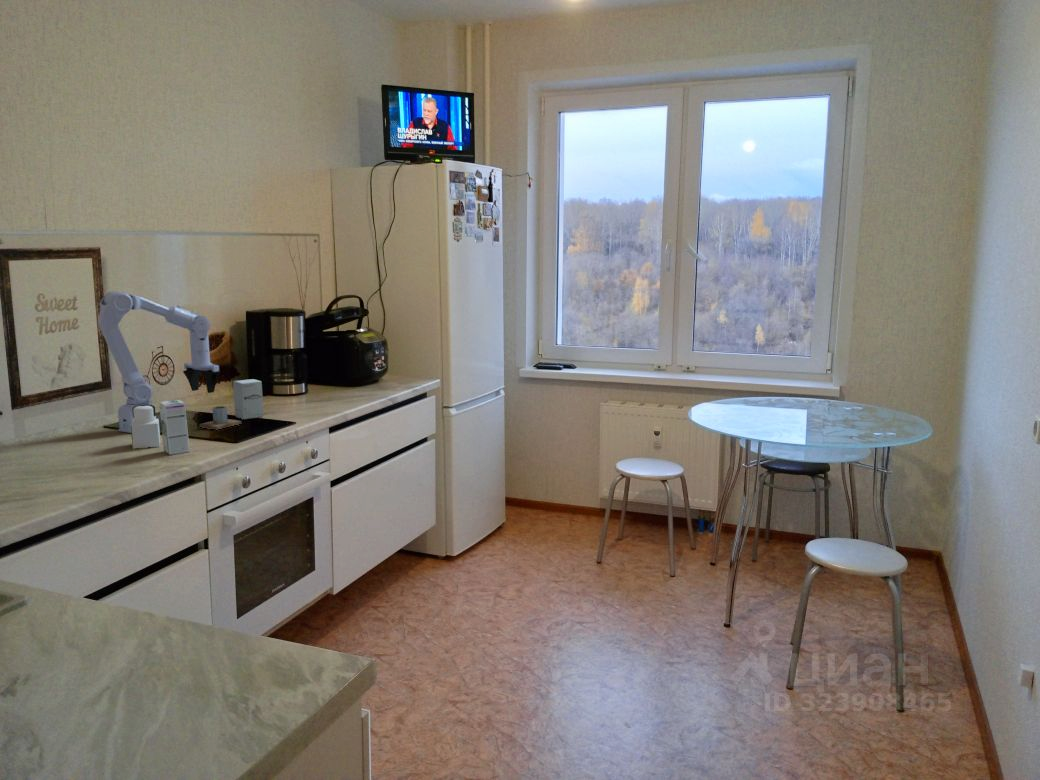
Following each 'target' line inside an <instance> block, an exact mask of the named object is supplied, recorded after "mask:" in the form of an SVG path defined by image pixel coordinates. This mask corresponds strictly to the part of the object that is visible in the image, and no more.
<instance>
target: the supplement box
mask: <svg viewBox="0 0 1040 780" xmlns="http://www.w3.org/2000/svg"><path fill="white" fill-rule="evenodd" d="M232 383H233V401H234V402H233V404H234V417H236V418H238V419H240V418H241V420H243V419H244V420H248V419H258V418H263V417H264V401H263V384H262V381H261V380H258V379H254V378H252V379H251V378H250V379H243V380H242V379H241V380H234V381H233V380H232Z"/></svg>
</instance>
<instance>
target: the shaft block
mask: <svg viewBox="0 0 1040 780" xmlns="http://www.w3.org/2000/svg"><path fill="white" fill-rule="evenodd" d="M227 419H228V422H227V423H224V424H214V422H213V420H212V421H207V422H203V423H200V424H199V428H200V427H202V428H201V429H203V428H207V429H206V430H210V429H216V430H218V429H222V428H226V427H230V426H234V425H238V426H240V425H239V424H242V420H238V419H229V418H227ZM234 427H235V426H234ZM230 428H231V427H230ZM226 429H227V428H226ZM216 430H215V431H216ZM222 430H223V429H222ZM218 431H219V430H218Z"/></svg>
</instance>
